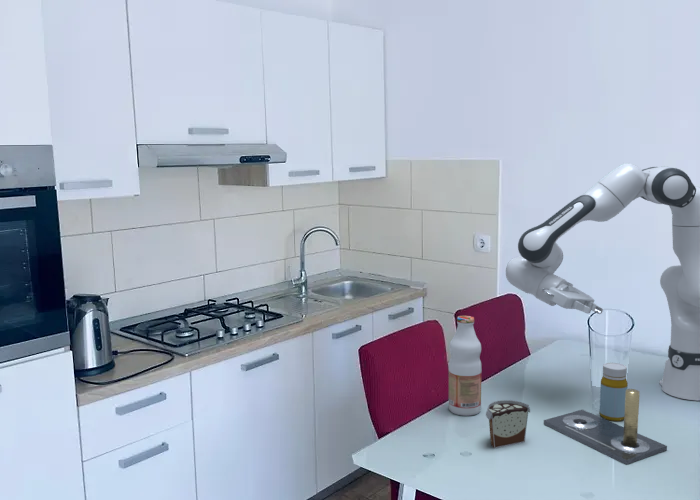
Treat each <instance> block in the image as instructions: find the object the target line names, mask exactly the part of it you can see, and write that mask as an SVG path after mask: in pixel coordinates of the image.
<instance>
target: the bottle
mask: <svg viewBox="0 0 700 500" xmlns="http://www.w3.org/2000/svg"><path fill="white" fill-rule="evenodd" d="M627 371H628V367H627V365H625V364H622V363H620V362H619V363H618V362H604V363H603V365H602V377H601V379H600V388H599V389H600V390H599V393H600V394H599V410H598V411H599V415H600V417H601V418H603V419H606V420H608V421H610V422H620V421H624V414H625V394H626V389H629V388H628V384H629V383H628V379H627Z"/></svg>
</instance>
